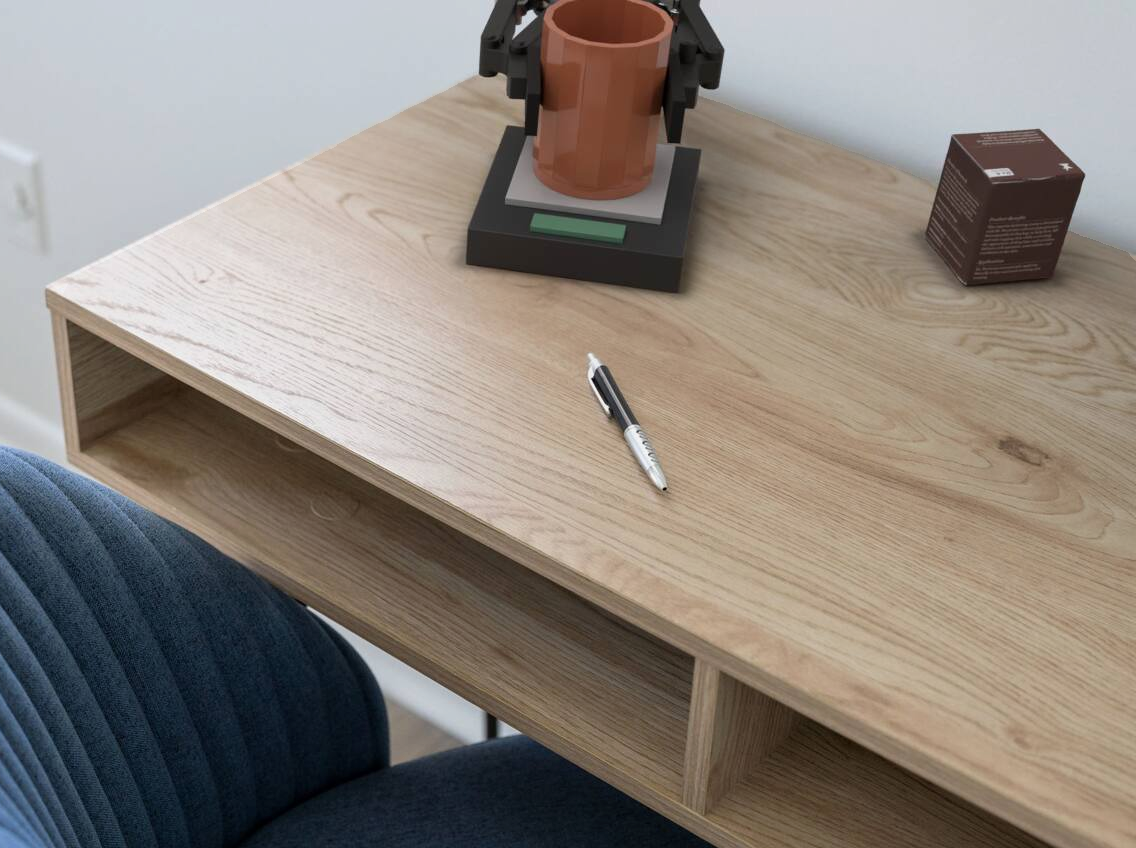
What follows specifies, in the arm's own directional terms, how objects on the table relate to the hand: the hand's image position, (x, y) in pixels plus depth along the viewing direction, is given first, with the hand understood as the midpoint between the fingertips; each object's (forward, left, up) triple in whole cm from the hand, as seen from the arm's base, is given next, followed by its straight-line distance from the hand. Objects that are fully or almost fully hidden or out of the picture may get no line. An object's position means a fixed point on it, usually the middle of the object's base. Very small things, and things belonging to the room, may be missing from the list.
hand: (604, 118), depth 95 cm
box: (-24, -6, -9) cm, 27 cm away
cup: (+1, -5, -6) cm, 8 cm away
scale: (+1, -4, -9) cm, 10 cm away
